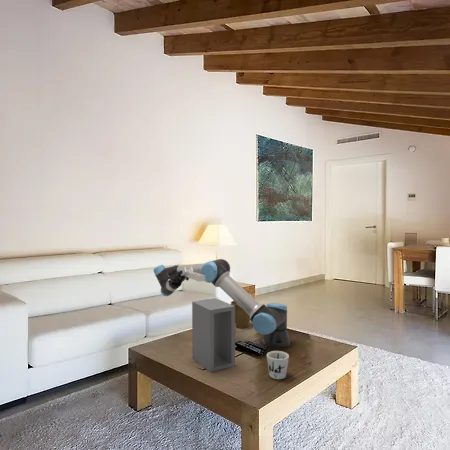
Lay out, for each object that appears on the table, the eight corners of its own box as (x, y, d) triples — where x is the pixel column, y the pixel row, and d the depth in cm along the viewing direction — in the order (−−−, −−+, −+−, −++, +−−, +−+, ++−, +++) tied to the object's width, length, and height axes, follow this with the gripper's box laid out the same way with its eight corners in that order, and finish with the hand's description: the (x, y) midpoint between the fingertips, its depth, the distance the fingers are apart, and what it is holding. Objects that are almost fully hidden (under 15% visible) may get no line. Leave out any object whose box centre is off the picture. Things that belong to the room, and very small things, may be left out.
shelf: (192, 358, 197) (192, 301, 195) (215, 353, 204) (215, 298, 202) (210, 372, 180) (210, 310, 179) (234, 365, 188) (234, 306, 186)
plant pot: (257, 327, 247) (257, 303, 247) (238, 331, 240) (238, 306, 239) (244, 321, 260) (244, 298, 259) (226, 325, 252) (226, 301, 251)
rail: (178, 274, 221) (178, 269, 221) (184, 273, 223) (184, 268, 223) (199, 281, 199) (199, 276, 199) (205, 281, 201) (205, 275, 201)
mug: (264, 379, 173) (264, 357, 173) (270, 366, 188) (270, 346, 187) (287, 382, 170) (287, 360, 170) (291, 368, 184) (291, 348, 184)
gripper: (187, 287, 234) (203, 273, 217) (162, 290, 226) (176, 276, 208) (184, 276, 237) (200, 261, 219) (160, 278, 229) (173, 264, 211)
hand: (188, 269), depth 214 cm, fingers closed on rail, 3 cm apart
